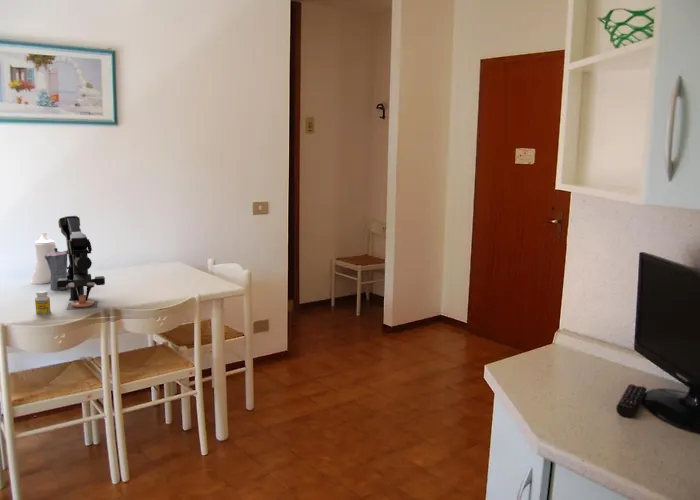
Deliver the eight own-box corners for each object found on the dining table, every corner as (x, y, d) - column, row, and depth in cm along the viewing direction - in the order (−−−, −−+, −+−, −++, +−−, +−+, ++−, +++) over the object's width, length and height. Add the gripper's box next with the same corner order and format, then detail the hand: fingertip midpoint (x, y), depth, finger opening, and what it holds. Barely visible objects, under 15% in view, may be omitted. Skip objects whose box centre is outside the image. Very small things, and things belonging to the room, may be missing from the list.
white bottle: (50, 278, 311) (47, 230, 306) (61, 281, 305) (58, 232, 300) (27, 282, 301) (23, 233, 297) (38, 285, 295) (34, 235, 291)
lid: (72, 302, 263) (71, 293, 262) (94, 301, 266) (93, 292, 265) (70, 307, 254) (70, 298, 254) (93, 306, 258) (93, 297, 257)
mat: (68, 304, 264) (68, 302, 264) (98, 302, 268) (98, 300, 268) (66, 311, 253) (66, 310, 253) (97, 309, 257) (97, 307, 257)
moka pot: (40, 290, 286) (37, 249, 282) (66, 283, 300) (64, 244, 297) (55, 292, 282) (52, 251, 279) (80, 285, 297) (78, 246, 293)
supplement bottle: (49, 311, 252) (48, 289, 250) (51, 315, 247) (50, 292, 246) (35, 313, 249) (33, 291, 247) (37, 316, 244) (35, 294, 243)
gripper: (54, 270, 246) (56, 307, 249) (103, 268, 253) (105, 304, 256) (57, 265, 257) (59, 300, 260) (104, 263, 263) (105, 297, 266)
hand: (82, 301), depth 260 cm, fingers closed on lid, 3 cm apart
